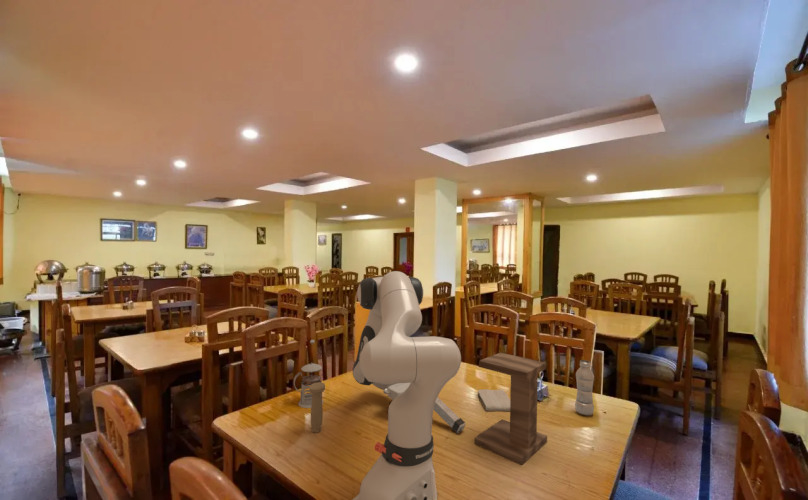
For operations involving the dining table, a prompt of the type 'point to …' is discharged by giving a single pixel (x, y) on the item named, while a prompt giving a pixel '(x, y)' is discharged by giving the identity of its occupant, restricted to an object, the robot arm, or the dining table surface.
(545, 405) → the dining table surface
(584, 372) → the plastic bottle
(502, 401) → the washcloth
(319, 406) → the handle
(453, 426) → the grey square bar
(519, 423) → the mount stand
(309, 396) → the french press
